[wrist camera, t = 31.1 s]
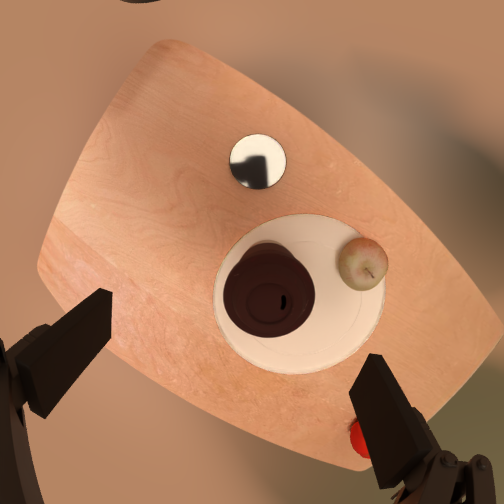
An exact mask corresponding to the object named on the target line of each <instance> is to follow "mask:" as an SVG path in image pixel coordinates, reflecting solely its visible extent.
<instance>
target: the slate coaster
mask: <svg viewBox="0 0 504 504" xmlns="http://www.w3.org/2000/svg"><path fill="white" fill-rule="evenodd" d="M229 164H230V169H231V172H232V174H233V176H234V177H235V179H236V180H237V181H238V182H239V183H240V184H242V185H243V186H245V187H248V188H251V189H265V188H268V187H270V186H272V185H274V184H275V183H277V182H278V181H279V180H280V178H281V177H282V176H283V174H284V171H285V168H286V155H285V152H284V150H283V148H282V146H281V145H280V144H279V143H278V142H277V141H276V140H275V139H273V138H272V137H270V136H267V135H264V134H252V135H248V136H246V137H244V138H242V139H241V140H239V141H238V142H237V143H236V144H235V146H234V147H233V149H232V151H231V154H230V159H229Z"/></svg>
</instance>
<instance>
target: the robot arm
mask: <svg viewBox="0 0 504 504" xmlns="http://www.w3.org/2000/svg"><path fill="white" fill-rule="evenodd" d="M112 294H113V292H110V291H107V290H105V289H102V288H99V289H98V290H96V291H95V292H94V293H92V294H91V295H90V296H88V297H87V298H86V299H85V300H83V301H82V302H81V303H79V304H78V305H77V306H76V307H74V308H73V309H72V310H70V311H69V312H68V313H67V314H66V315H64V316H63V317H62V318H61V319H59V320H58V321H57V322H56V323H54V324H53V325H52V326H50V325H47V324H44V325H41V326H38V327H36V328H34V329H33V330H32V331H31V332H29V334H27V335H25V336H24V337H23V339H20V340H19V341H18V342H17V343H16V344H14V345H13V346H12V347H11V348H9V350H7V351H6V352H5V348H4V344H3V341H2V340H1V338H0V504H44V501H43V498H42V495H41V492H40V488H39V485H38V481H37V477H36V473H35V470H34V465H33V461H32V457H31V451H30V446H29V442H28V435H27V429H26V423H25V415H24V410H23V405H24V404H25V403H26V401H27V402H28V405H29V408H30V410H31V411H32V412H34V413H35V414H37V415H39V416H40V417H42V418H44V419H46V417H47V416H48V415H49V414H50V412H51V411H52V410H53V408H54V407H55V406H56V405H57V403H58V402H59V401H60V399H61V398H62V397H63V396H64V394H65V393H66V392H67V391H68V389H69V388H70V387H71V386H72V384H73V383H74V382H75V381H76V379H77V378H78V377H79V376H80V375H81V373H82V372H83V371H84V370H85V368H86V367H87V366H88V365H89V364H90V362H91V361H92V360H93V359H94V358H95V356H96V355H97V354H98V353H99V352H100V350H101V349H102V348H103V347H104V346H105V345H106V343H107V342H108V341H109V340H110V339H111V318H112ZM349 396H350V398H351V401H352V404H353V407H354V410H355V413H356V416H357V419H358V422H359V425H360V428H361V431H362V434H363V437H364V440H365V443H366V446H367V449H368V452H369V456H370V459H371V462H372V465H373V468H374V472H375V475H376V478H377V481H378V485H379V488H380V489H387V488H394V487H396V486H397V485H398V484H399V483H400V482H401V481H402V480H403V481H404V484H405V486H404V487H402V488H401V489H400V490H399V491H398V492H397V493H396V494H394V495H393V496H392V497H391V499H392V500H393V499H394V498H395V497H396V496H397V498H396V500H395V502H394V504H496V495H495V486H494V478H493V471H492V465H491V463H490V461H489V459H488V458H487V457H485V456H483V455H480V454H477V455H475V456H474V457H473V458H472V459H471V460H470V461H469V462H463V461H458V459H457V457H456V456H455V455H454V454H452V453H451V452H449V451H446V450H443V451H442V450H441V448H440V446H439V444H438V443H437V441H436V439H435V437H434V435H433V433H432V432H431V430H429V426H428V424H426V421H425V419H424V417H423V415H422V414H421V413H420V412H419V411H418V410H417V409H416V408H415V407H411V405H410V403H409V402H408V400H407V398H406V396H405V394H404V393H403V391H402V389H401V387H400V386H399V384H398V382H397V380H396V379H395V377H394V375H393V373H392V372H391V370H390V368H389V367H388V365H387V363H386V361H385V360H384V358H383V356H382V355H378V354H371V353H369V355H368V357H367V359H366V361H365V363H364V365H363V367H362V369H361V371H360V373H359V375H358V377H357V378H356V380H355V382H354V384H353V386H352V388H351V389H350V391H349ZM465 495H466V500H465V501H464V502H463V503H462V498H463V497H464V496H465Z"/></svg>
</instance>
